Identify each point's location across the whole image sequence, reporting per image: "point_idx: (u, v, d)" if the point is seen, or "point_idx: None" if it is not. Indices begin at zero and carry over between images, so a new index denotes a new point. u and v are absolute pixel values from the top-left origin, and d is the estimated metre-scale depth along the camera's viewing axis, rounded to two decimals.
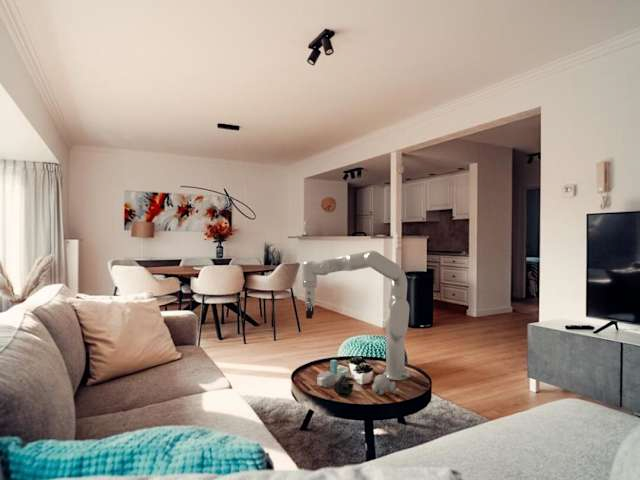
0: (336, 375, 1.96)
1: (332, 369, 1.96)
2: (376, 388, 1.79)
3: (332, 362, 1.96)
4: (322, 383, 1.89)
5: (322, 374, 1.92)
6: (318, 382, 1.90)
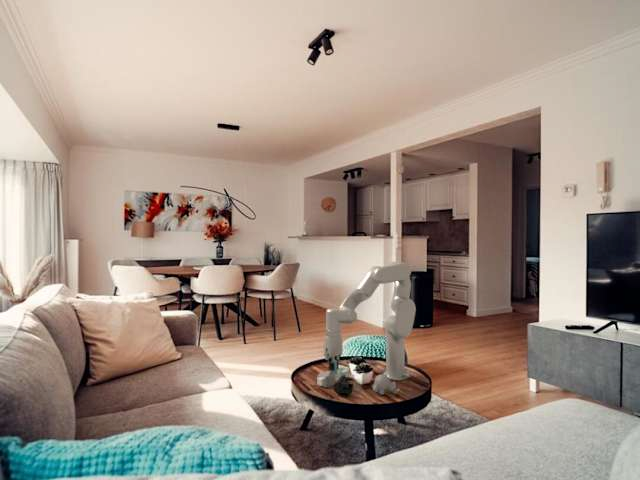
0: (336, 375, 1.96)
1: None
2: (376, 388, 1.79)
3: None
4: (322, 383, 1.89)
5: (322, 374, 1.92)
6: (318, 382, 1.90)
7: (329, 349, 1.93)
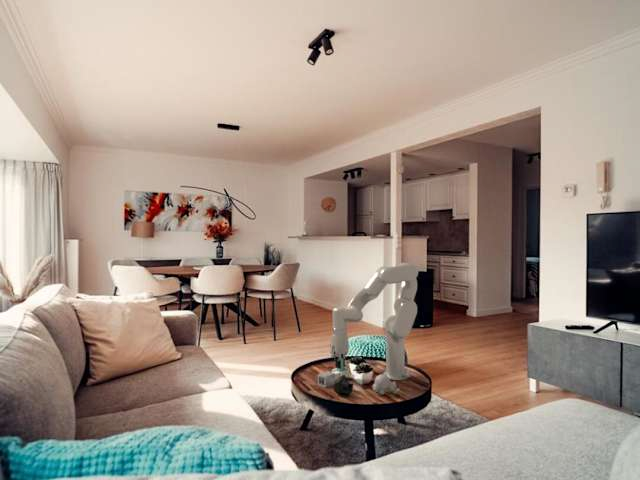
0: None
1: None
2: (377, 388, 1.79)
3: None
4: None
5: (322, 374, 1.92)
6: None
7: (336, 347, 1.96)
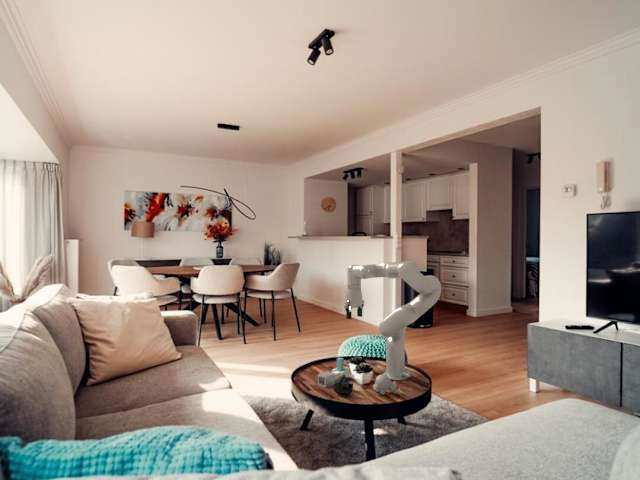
0: None
1: (339, 367, 2.00)
2: (377, 388, 1.79)
3: (338, 360, 2.00)
4: None
5: (322, 374, 1.92)
6: None
7: (351, 300, 2.13)
